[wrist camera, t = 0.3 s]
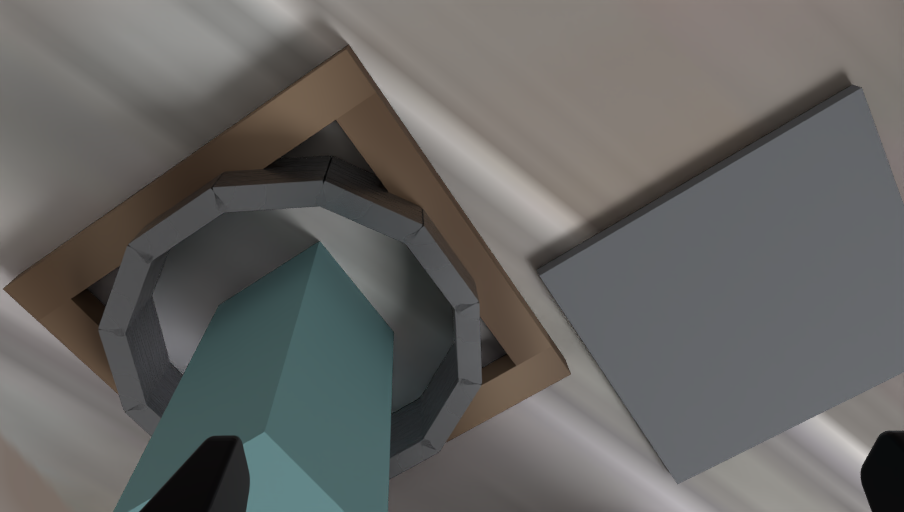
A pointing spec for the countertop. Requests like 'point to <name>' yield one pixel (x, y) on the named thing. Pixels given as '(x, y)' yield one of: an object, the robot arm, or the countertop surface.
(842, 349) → the charcoal mat
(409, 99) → the countertop surface
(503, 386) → the walnut stand
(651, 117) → the countertop surface
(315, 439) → the teal post
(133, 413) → the metal ring
